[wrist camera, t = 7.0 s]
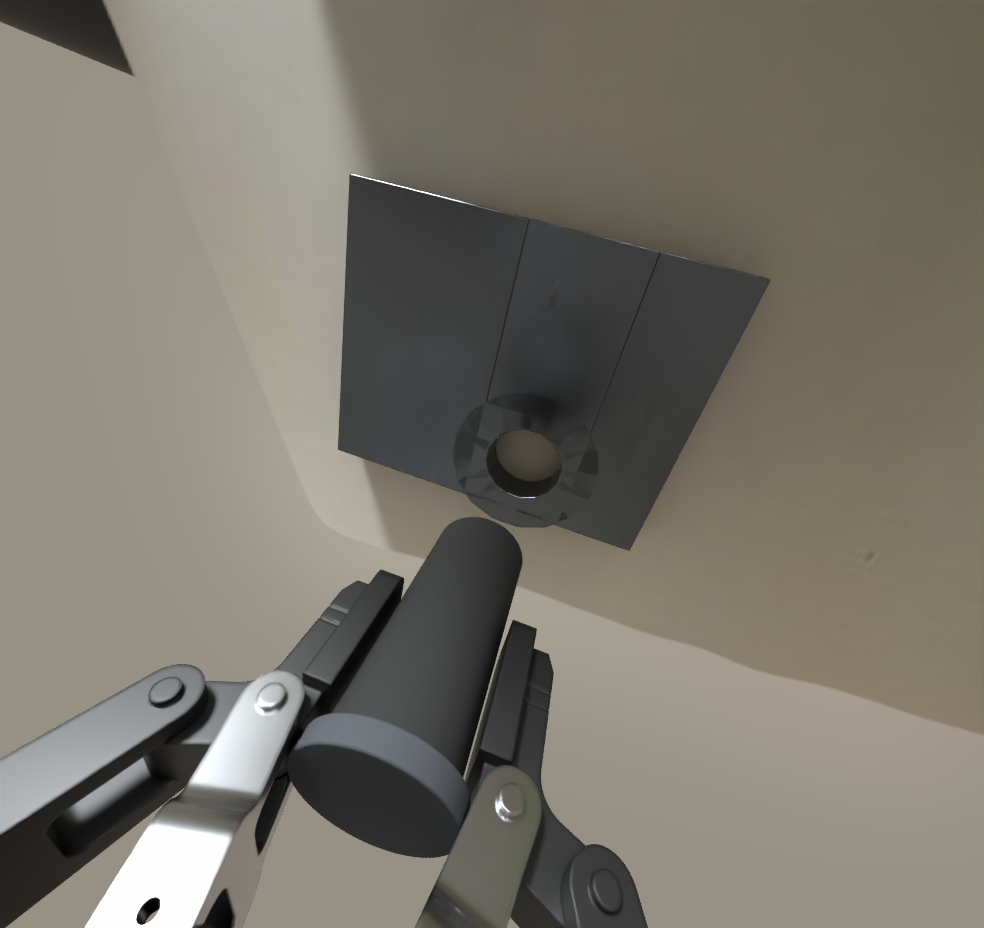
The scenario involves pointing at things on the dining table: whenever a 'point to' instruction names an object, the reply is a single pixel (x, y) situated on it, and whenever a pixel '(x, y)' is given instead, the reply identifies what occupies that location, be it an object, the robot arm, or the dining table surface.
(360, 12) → the dining table surface
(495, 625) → the plug
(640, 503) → the plate
